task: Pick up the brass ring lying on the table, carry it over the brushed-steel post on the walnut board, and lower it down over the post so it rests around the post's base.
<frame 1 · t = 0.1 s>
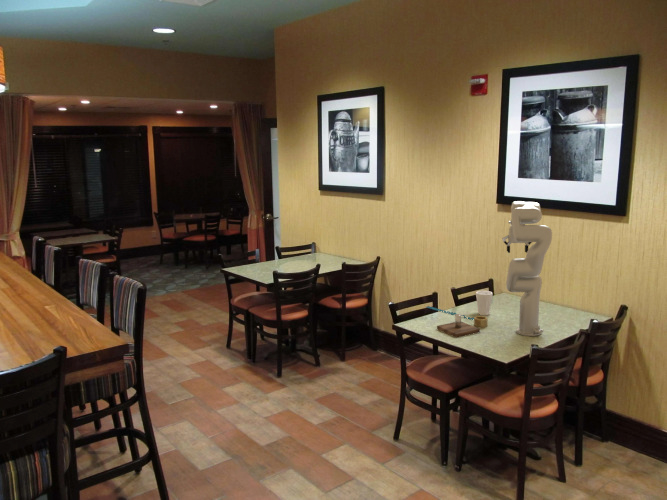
hand: (517, 252, 310), 37 cm above the table, tool pointing down, fingers open, 9 cm apart
brass ring: (480, 325, 298), on the table
foam cup: (483, 314, 320), on the table
walnut board: (458, 330, 291), on the table
steel post: (458, 321, 290), on the walnut board, point 6 cm above the table
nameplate: (449, 314, 323), on the table
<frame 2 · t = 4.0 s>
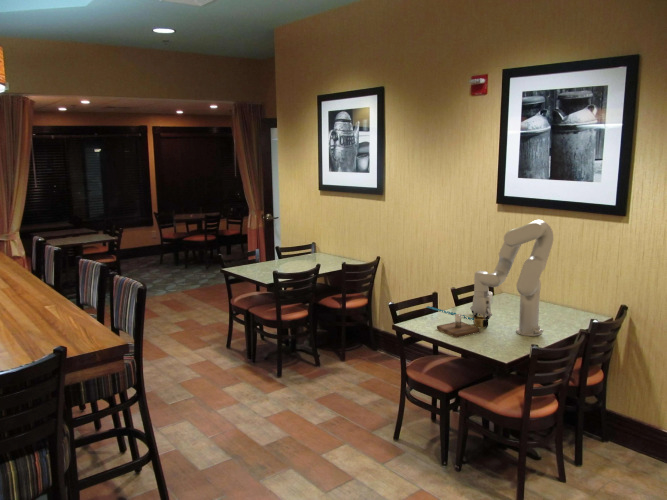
hand: (480, 324, 298), 1 cm above the table, tool pointing down, fingers closed on brass ring, 7 cm apart
brass ring: (480, 325, 298), on the table, touching gripper
everything else where it was.
when the fingers open (5 cm above the table, at t = 10.1 s): brass ring drops 2 cm, resting on walnut board.
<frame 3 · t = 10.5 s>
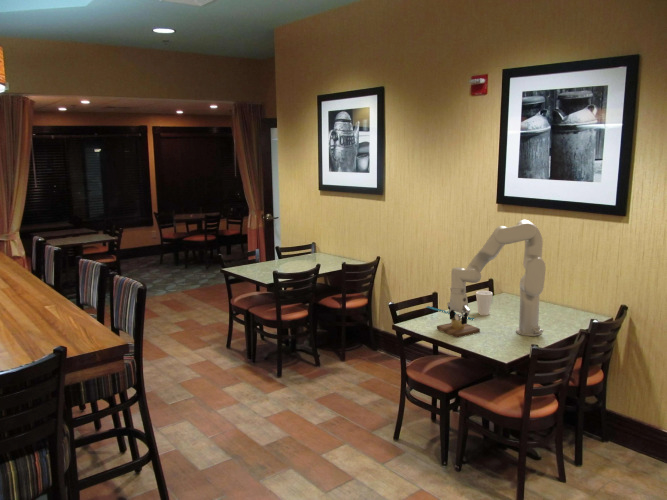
hand: (458, 321, 290), 5 cm above the table, tool pointing down, fingers open, 9 cm apart
brass ring: (458, 327, 291), point 2 cm above the table, touching walnut board
everything else where it was.
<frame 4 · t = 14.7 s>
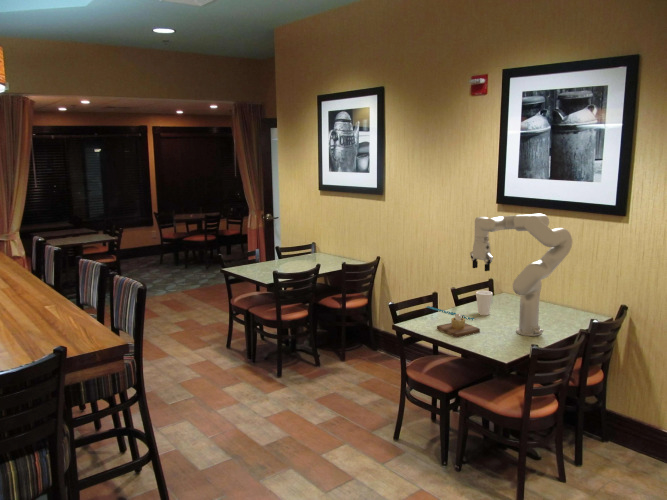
hand: (480, 269, 300), 30 cm above the table, tool pointing down, fingers open, 9 cm apart
nothing on the table moved.
at the end: brass ring 0.1 cm from the steel post (horizontally); brass ring point 2.0 cm above the table; the gripper is holding nothing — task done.
